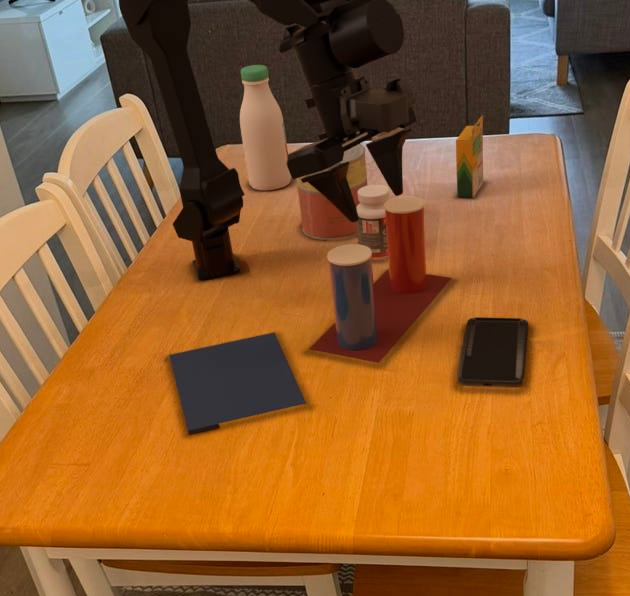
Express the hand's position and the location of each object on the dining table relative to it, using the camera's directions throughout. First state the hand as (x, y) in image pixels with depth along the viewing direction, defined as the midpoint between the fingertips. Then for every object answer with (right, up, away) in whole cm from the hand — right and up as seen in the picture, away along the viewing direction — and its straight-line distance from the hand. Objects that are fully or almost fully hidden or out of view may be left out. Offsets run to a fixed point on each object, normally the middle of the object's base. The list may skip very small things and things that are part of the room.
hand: (377, 207), depth 109 cm
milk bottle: (-19, +19, +52) cm, 59 cm away
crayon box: (+16, +15, +43) cm, 48 cm away
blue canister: (-3, -16, +5) cm, 17 cm away
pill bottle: (0, 0, +26) cm, 26 cm away
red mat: (+1, -12, +10) cm, 16 cm away
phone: (+14, -18, 0) cm, 23 cm away
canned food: (-6, +7, +35) cm, 36 cm away
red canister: (+4, -7, +15) cm, 17 cm away
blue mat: (-18, -22, 0) cm, 28 cm away
